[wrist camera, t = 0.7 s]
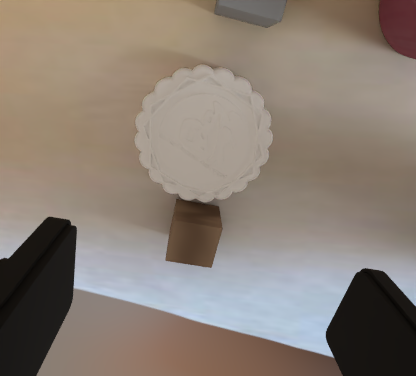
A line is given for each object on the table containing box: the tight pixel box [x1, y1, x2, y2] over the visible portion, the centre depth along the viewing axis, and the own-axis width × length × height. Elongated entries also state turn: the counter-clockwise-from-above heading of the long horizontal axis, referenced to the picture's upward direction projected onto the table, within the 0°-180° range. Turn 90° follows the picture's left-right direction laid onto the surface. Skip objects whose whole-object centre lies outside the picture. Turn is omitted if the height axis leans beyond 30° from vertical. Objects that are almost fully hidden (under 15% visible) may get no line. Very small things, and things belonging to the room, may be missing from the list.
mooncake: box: [134, 64, 273, 203], centre depth 26 cm, size 12×12×4 cm
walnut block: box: [165, 199, 222, 268], centre depth 30 cm, size 4×4×4 cm
